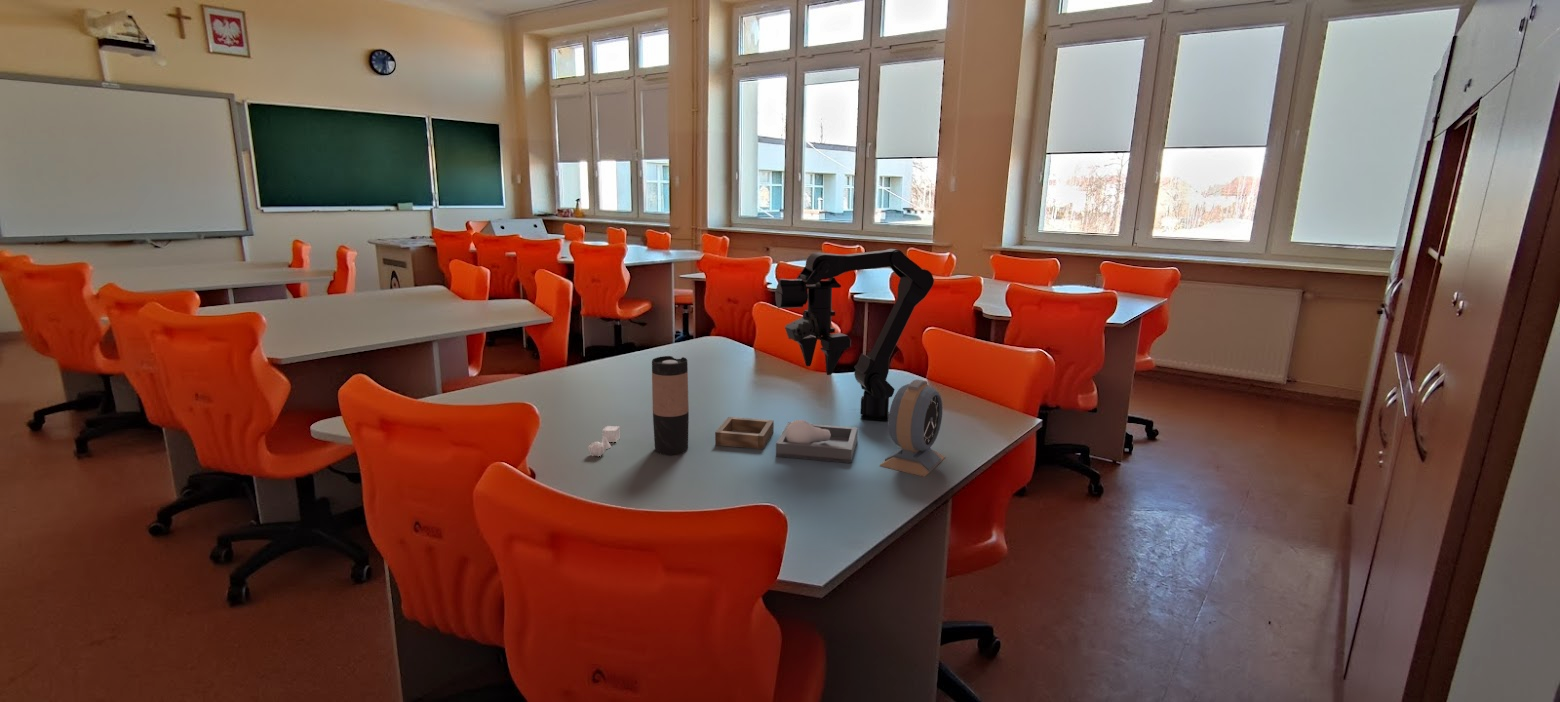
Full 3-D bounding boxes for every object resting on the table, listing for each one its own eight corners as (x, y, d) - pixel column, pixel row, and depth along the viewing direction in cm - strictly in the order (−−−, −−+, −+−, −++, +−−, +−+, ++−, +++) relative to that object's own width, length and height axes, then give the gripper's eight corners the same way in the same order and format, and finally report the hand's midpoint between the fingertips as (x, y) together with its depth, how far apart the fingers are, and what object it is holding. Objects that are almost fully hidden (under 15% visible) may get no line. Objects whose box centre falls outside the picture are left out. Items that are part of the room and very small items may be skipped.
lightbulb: (834, 417, 155) (792, 414, 149) (840, 443, 152) (797, 441, 146) (820, 427, 159) (778, 425, 154) (825, 453, 156) (783, 452, 151)
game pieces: (606, 439, 159) (606, 425, 158) (621, 439, 158) (620, 426, 158) (587, 458, 147) (586, 444, 146) (602, 459, 147) (601, 445, 146)
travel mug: (660, 457, 148) (657, 365, 143) (649, 446, 154) (646, 357, 150) (694, 452, 151) (693, 362, 146) (682, 440, 158) (680, 354, 153)
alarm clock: (922, 478, 139) (928, 393, 135) (877, 467, 144) (881, 385, 140) (946, 456, 151) (952, 377, 147) (904, 446, 156) (908, 370, 152)
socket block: (773, 432, 164) (773, 420, 163) (763, 449, 153) (763, 436, 153) (728, 428, 166) (728, 416, 165) (715, 445, 155) (715, 432, 155)
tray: (857, 440, 160) (857, 427, 159) (851, 463, 146) (851, 449, 146) (788, 434, 163) (788, 422, 162) (775, 456, 149) (776, 443, 149)
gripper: (770, 303, 170) (770, 365, 173) (811, 315, 154) (810, 384, 158) (809, 300, 175) (808, 360, 179) (853, 311, 159) (851, 378, 163)
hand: (818, 370), depth 169 cm, fingers open, 9 cm apart
